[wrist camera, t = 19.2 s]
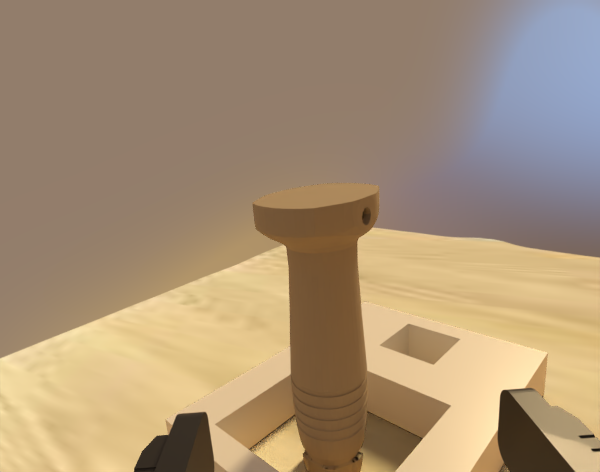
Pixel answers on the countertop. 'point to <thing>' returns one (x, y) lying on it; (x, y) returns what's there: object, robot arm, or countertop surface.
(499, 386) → the plate
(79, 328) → the countertop surface
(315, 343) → the handle
